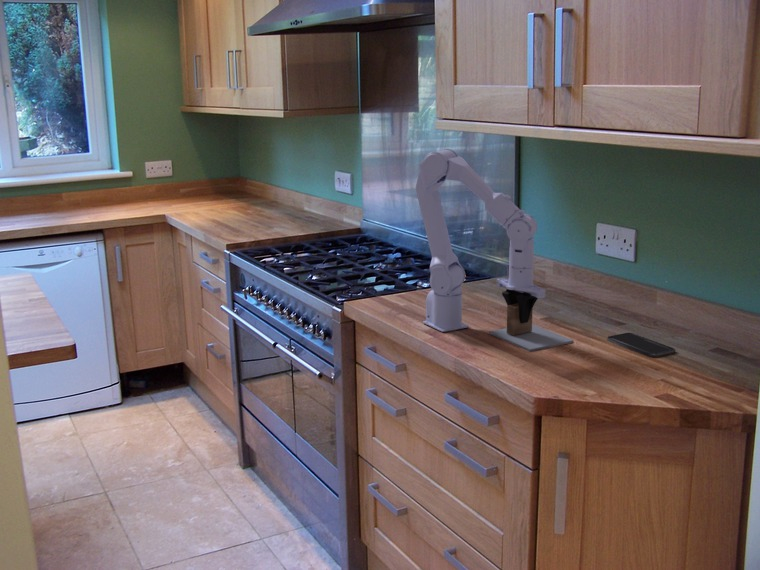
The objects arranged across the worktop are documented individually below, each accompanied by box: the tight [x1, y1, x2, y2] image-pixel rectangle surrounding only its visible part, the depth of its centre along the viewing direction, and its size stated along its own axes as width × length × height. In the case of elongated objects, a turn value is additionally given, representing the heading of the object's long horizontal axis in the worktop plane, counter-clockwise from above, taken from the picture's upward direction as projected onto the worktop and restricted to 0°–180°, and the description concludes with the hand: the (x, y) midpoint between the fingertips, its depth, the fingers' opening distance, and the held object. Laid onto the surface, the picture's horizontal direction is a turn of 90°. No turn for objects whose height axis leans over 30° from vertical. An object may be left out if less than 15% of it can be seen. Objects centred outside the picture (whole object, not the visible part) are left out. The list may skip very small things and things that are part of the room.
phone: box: [606, 332, 676, 359], centre depth 191 cm, size 8×1×15 cm
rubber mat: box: [487, 323, 574, 352], centre depth 198 cm, size 16×13×1 cm
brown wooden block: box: [506, 303, 534, 336], centre depth 200 cm, size 3×6×7 cm, turn 125°
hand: (519, 320), depth 200 cm, fingers closed on brown wooden block, 2 cm apart
